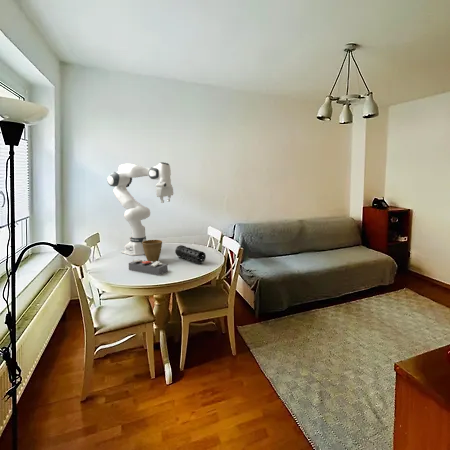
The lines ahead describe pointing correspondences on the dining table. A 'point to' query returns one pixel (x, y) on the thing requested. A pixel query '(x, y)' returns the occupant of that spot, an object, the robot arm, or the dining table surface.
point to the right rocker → (155, 264)
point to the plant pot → (152, 249)
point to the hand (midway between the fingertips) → (165, 202)
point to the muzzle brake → (190, 254)
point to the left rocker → (137, 261)
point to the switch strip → (148, 267)
